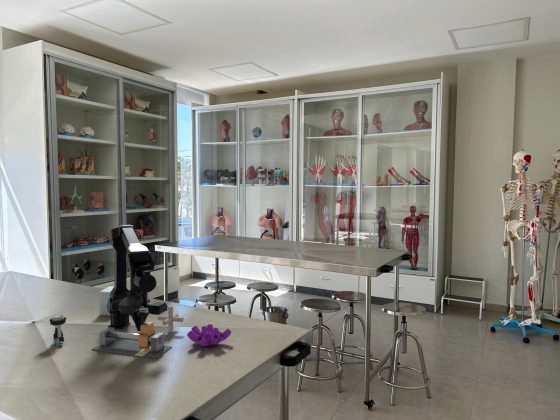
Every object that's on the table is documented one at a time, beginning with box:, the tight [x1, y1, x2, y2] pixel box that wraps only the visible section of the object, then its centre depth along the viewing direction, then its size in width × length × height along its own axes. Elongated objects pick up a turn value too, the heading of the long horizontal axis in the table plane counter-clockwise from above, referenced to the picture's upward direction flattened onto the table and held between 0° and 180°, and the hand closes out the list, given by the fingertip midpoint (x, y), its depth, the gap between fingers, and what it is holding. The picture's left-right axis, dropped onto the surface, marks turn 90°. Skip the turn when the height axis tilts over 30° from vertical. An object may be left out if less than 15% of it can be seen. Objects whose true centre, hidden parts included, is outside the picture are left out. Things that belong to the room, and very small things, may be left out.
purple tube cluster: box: [186, 323, 232, 347], centre depth 151 cm, size 11×15×10 cm
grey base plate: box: [91, 338, 173, 360], centre depth 147 cm, size 25×10×1 cm, turn 75°
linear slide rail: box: [99, 326, 165, 354], centre depth 146 cm, size 22×5×5 cm, turn 75°
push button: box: [48, 314, 67, 347], centre depth 150 cm, size 7×5×10 cm
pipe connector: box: [157, 305, 185, 333], centre depth 163 cm, size 10×10×10 cm
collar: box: [138, 321, 156, 349], centre depth 145 cm, size 3×5×8 cm, turn 164°
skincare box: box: [99, 285, 114, 316], centre depth 188 cm, size 10×6×10 cm, turn 179°
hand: (139, 331), depth 145 cm, fingers closed
